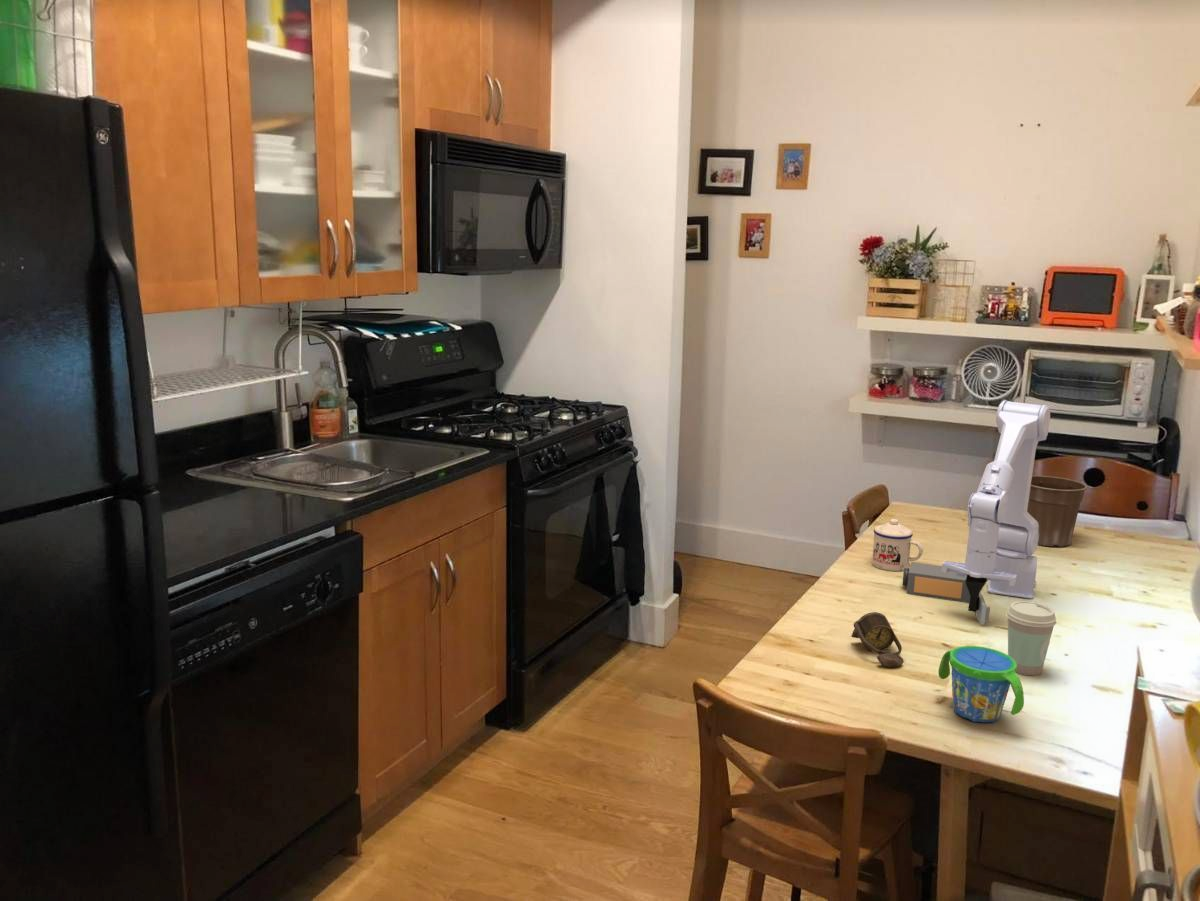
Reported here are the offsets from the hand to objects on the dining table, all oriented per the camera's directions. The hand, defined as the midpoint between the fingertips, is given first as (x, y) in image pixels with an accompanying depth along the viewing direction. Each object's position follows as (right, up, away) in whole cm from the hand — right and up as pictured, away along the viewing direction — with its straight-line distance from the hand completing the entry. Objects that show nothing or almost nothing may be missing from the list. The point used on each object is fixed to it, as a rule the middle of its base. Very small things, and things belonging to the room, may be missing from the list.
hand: (973, 610), depth 209 cm
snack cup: (-15, -11, -41) cm, 45 cm away
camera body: (-2, +2, +15) cm, 16 cm away
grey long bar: (+2, -1, +3) cm, 4 cm away
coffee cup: (+1, -7, -23) cm, 25 cm away
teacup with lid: (-7, +5, +32) cm, 33 cm away
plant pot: (+40, +9, +56) cm, 70 cm away
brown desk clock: (-26, -6, -18) cm, 32 cm away
